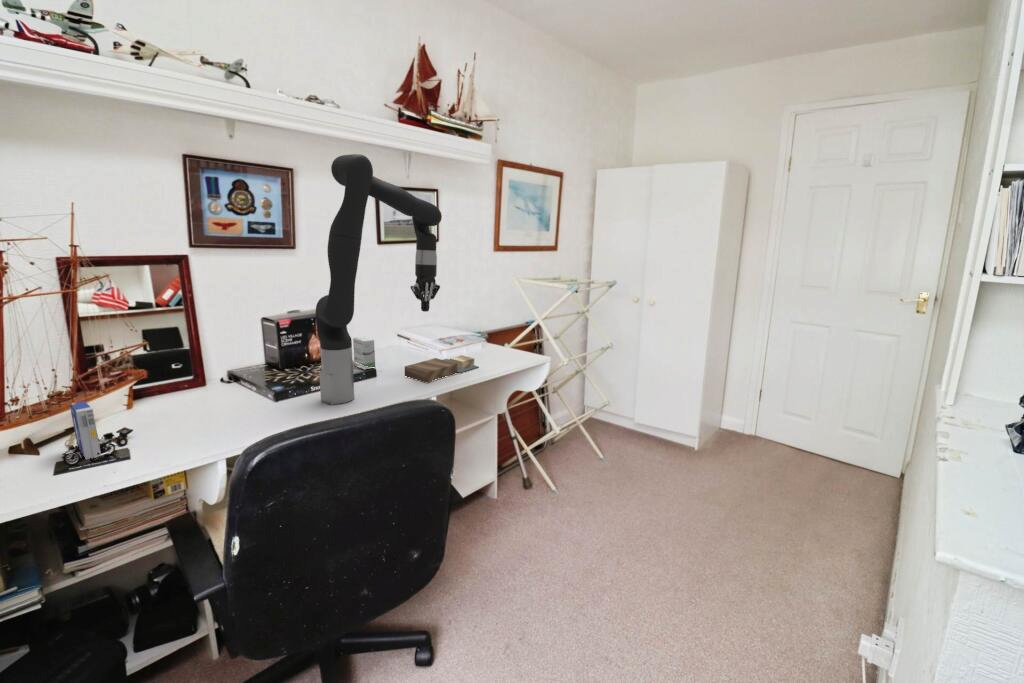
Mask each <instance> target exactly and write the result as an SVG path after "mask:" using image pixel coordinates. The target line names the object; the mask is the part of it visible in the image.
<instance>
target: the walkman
mask: <svg viewBox="0 0 1024 683" xmlns="http://www.w3.org/2000/svg"><path fill="white" fill-rule="evenodd" d="M69 408H70V414H71V419H72V424H73V429H74V435H75V436H74V437H75V440H76V445H78V446H77V448H78V447H79V449H80V450H81V452H82V454H83V455H82V454H81V455H82V457H83V456H84V457H85V458H84V457H83V458H84V459H85V461H86V460H90V458H91V459H95V458H99V456H100V457H102V453H101V448H100V442H99V437H98V436H99V435H98V430H97V425H96V420H95V413H94V409H93V408H92V407H91V406H90V405H89V403H87V402H86V401H78V402H71V403H70V404H69ZM93 457H94V458H93Z"/></svg>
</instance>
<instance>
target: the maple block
mask: <svg viewBox="0 0 1024 683" xmlns="http://www.w3.org/2000/svg"><path fill="white" fill-rule="evenodd" d="M449 359H450V362H453V363H457V364H458V368H461V369H464V368H467V367H471V366H474V365H475V358H474V357H470V356H466V355H462V354H461V355H458V356H457V355H456V356H454V357H453V356H452V357H449Z"/></svg>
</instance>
